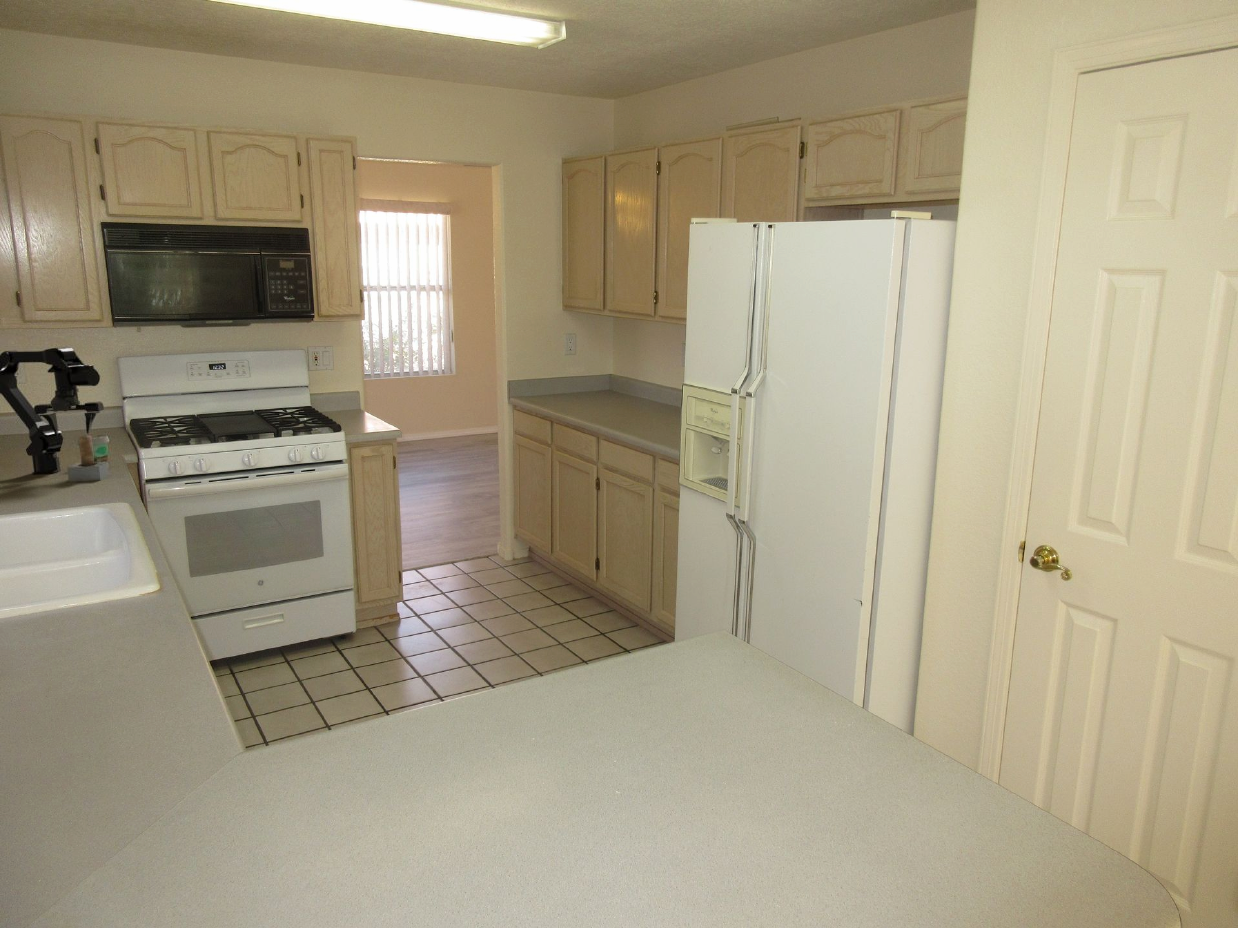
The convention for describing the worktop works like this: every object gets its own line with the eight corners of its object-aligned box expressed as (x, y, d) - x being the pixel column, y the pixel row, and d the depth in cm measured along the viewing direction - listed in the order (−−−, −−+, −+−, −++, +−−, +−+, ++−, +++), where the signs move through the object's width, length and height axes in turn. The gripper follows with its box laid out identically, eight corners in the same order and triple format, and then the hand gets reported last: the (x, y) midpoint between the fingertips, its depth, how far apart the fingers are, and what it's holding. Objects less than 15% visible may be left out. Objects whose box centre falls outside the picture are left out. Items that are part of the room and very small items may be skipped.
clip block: (68, 481, 274) (67, 467, 273) (79, 476, 283) (77, 462, 282) (100, 480, 276) (98, 466, 275) (109, 474, 285) (108, 461, 284)
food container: (98, 468, 296) (95, 439, 294) (80, 468, 296) (76, 439, 294) (119, 462, 308) (116, 434, 306) (102, 462, 308) (99, 434, 306)
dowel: (81, 476, 277) (76, 437, 275) (85, 474, 281) (80, 435, 278) (93, 475, 278) (89, 437, 276) (97, 473, 281) (93, 435, 279)
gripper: (23, 389, 273) (30, 439, 276) (89, 387, 277) (95, 436, 280) (37, 386, 284) (44, 434, 286) (101, 384, 288) (107, 431, 291)
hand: (72, 434), depth 286 cm, fingers open, 9 cm apart
